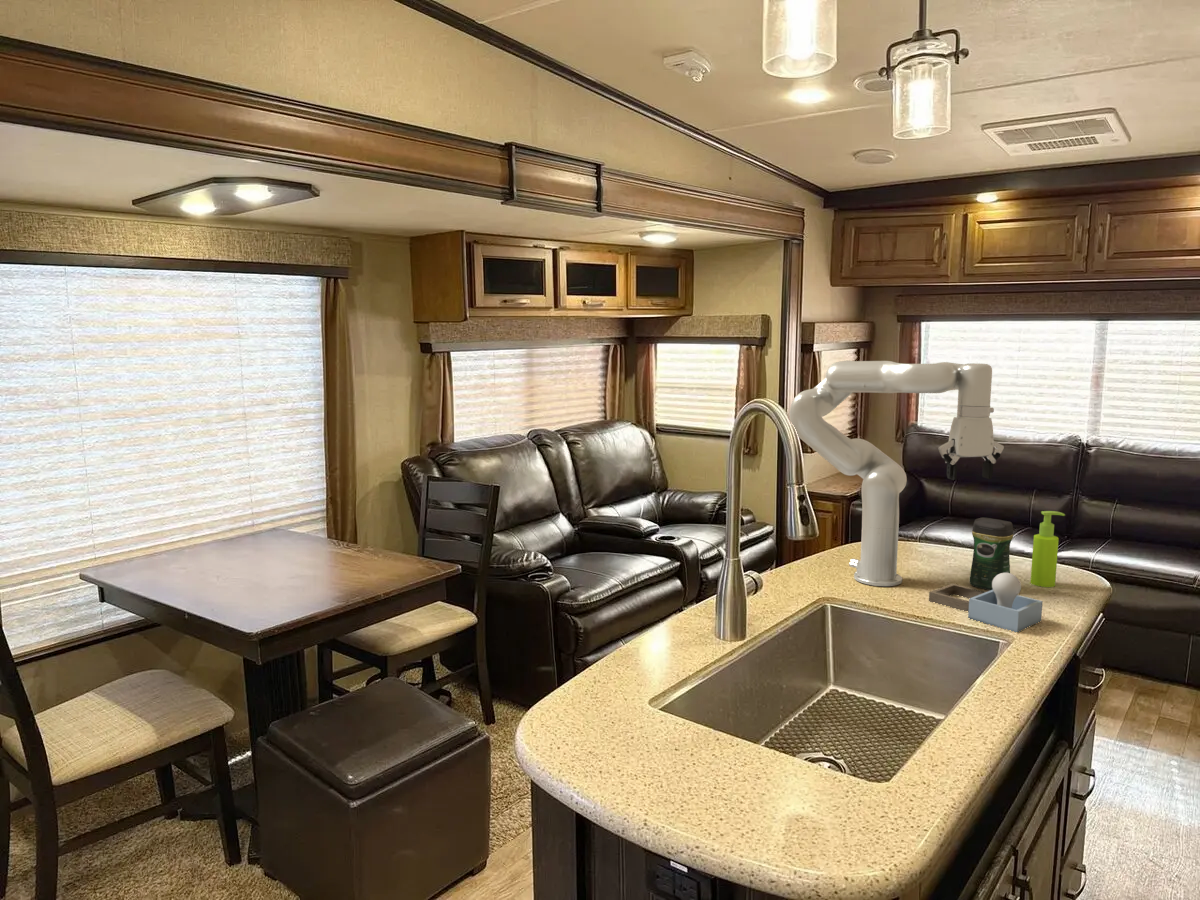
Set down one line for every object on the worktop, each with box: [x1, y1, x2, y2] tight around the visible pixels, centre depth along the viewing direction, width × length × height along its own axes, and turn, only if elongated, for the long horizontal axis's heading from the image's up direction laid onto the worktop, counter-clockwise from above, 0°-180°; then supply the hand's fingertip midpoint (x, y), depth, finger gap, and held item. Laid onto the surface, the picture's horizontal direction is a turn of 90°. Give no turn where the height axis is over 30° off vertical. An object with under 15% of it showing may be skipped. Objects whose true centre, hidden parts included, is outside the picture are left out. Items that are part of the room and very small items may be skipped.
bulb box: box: [967, 590, 1044, 633], centre depth 193 cm, size 12×12×5 cm
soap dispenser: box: [1029, 510, 1066, 588], centre depth 219 cm, size 6×7×20 cm
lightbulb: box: [992, 572, 1022, 608], centre depth 192 cm, size 6×6×11 cm
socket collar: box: [928, 583, 986, 612], centre depth 206 cm, size 11×11×2 cm
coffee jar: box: [969, 517, 1014, 591], centre depth 217 cm, size 10×8×19 cm
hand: (969, 478), depth 210 cm, fingers open, 9 cm apart
